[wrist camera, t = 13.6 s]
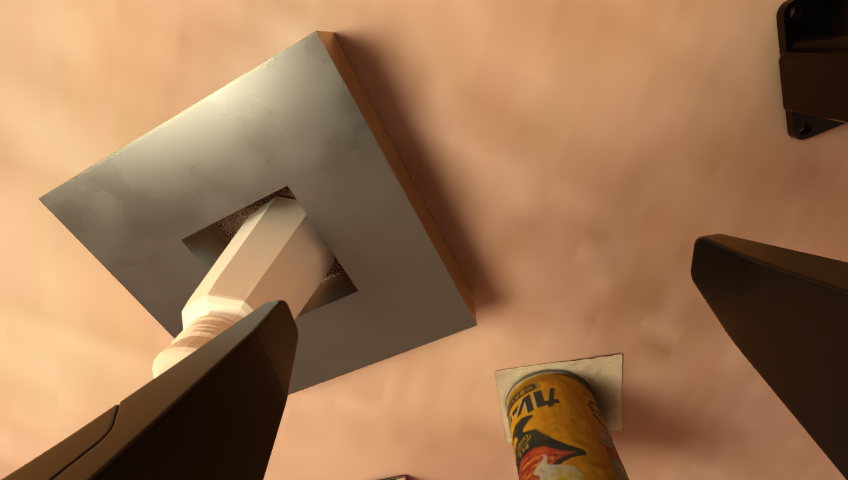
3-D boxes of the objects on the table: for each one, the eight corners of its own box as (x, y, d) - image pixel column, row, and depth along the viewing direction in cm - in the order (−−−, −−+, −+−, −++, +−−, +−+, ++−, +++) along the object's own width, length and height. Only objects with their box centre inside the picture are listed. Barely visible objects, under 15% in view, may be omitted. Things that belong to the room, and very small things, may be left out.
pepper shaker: (232, 203, 22) (72, 332, 13) (324, 186, 22) (232, 307, 12) (267, 284, 25) (156, 445, 15) (351, 270, 24) (294, 429, 14)
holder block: (333, 31, 18) (316, 30, 16) (472, 293, 25) (477, 325, 22) (86, 179, 22) (38, 198, 19) (263, 375, 28) (245, 410, 26)
